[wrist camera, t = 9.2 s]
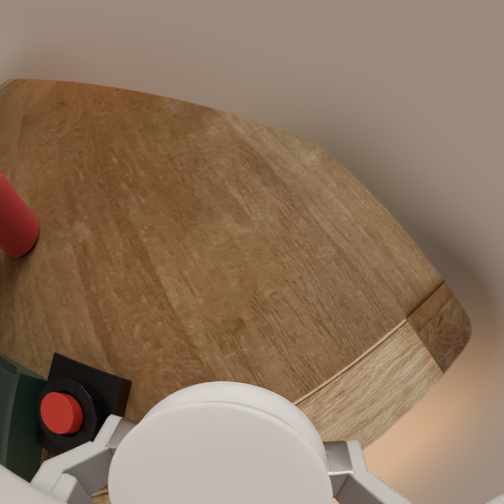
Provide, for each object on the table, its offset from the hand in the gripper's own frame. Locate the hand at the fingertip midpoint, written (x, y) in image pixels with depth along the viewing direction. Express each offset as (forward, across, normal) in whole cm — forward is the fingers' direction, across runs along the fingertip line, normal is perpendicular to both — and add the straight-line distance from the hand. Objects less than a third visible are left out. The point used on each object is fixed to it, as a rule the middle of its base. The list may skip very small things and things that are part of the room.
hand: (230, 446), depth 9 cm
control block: (+10, +15, +13) cm, 22 cm away
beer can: (+22, +31, 0) cm, 38 cm away
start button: (+7, +15, +10) cm, 19 cm away
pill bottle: (+4, 0, +5) cm, 6 cm away
